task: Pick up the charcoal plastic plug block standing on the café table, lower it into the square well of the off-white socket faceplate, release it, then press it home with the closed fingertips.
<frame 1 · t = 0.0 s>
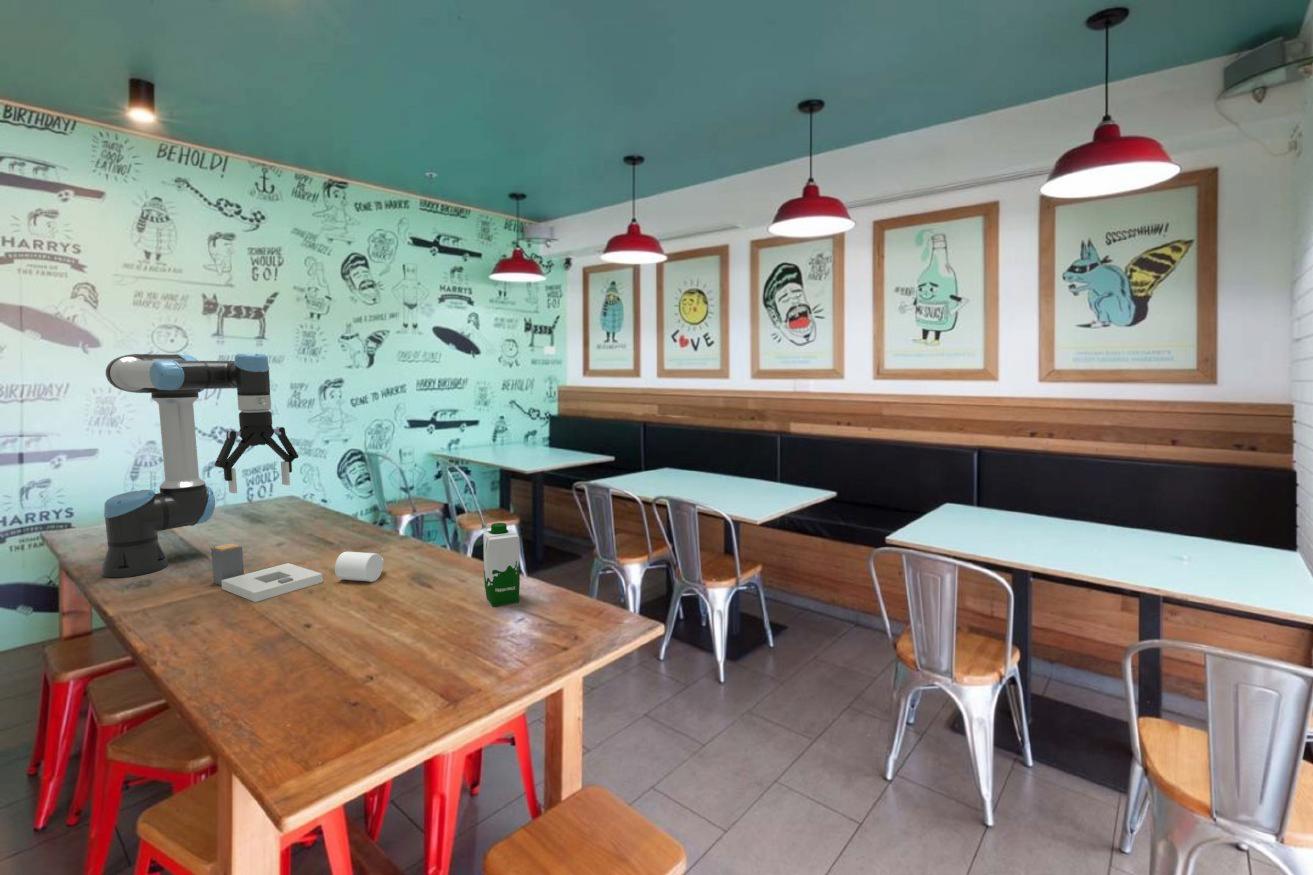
hand: (260, 488, 171), 28 cm above the table, fingers open, 13 cm apart
plug: (229, 581, 179), on the table
mug: (364, 578, 183), on the table
milk carton: (502, 601, 166), on the table
socket plate: (273, 585, 176), on the table
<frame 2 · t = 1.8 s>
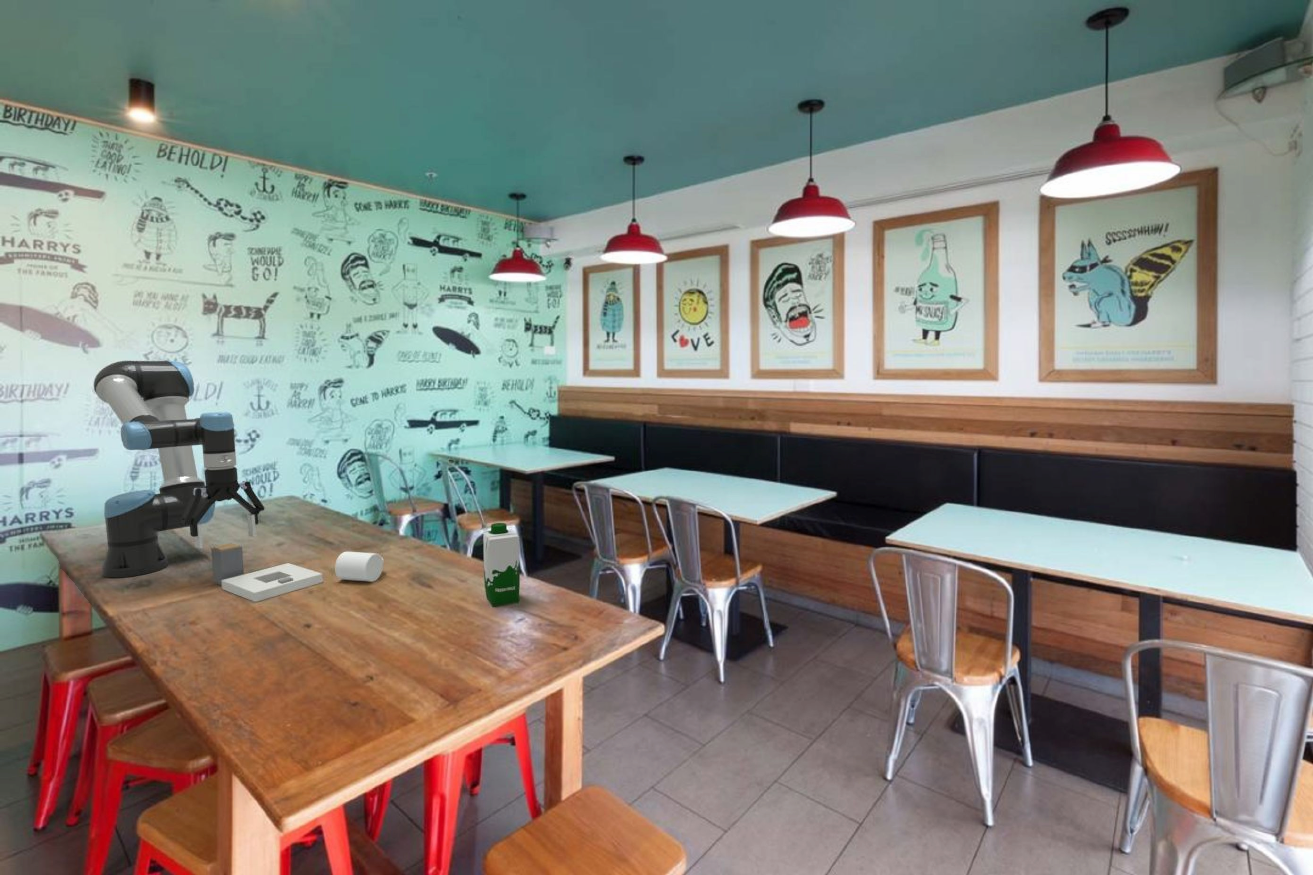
hand: (226, 541, 178), 12 cm above the table, fingers open, 13 cm apart
nothing on the table moved.
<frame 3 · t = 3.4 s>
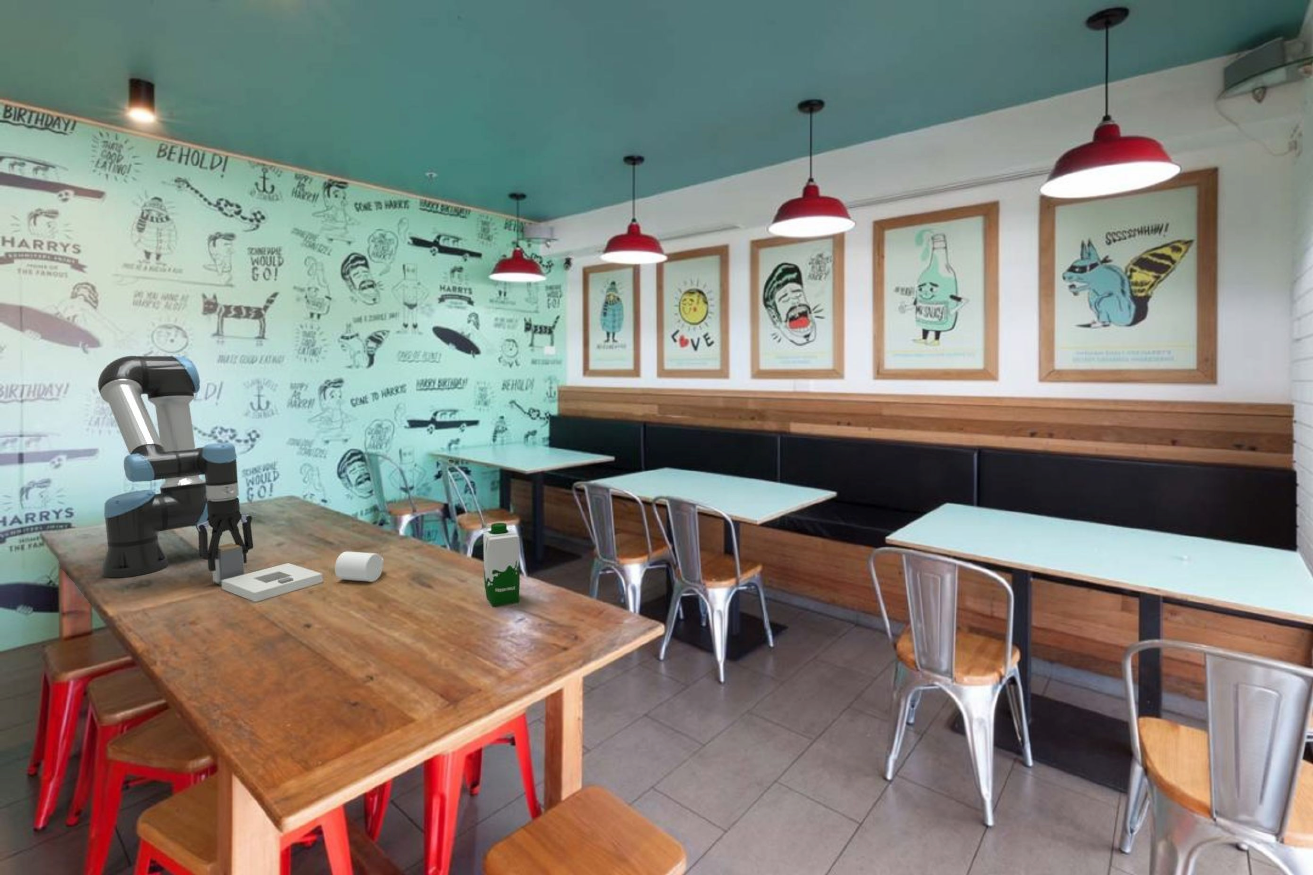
hand: (228, 577, 179), 1 cm above the table, fingers closed on plug, 5 cm apart
plug: (229, 581, 179), on the table, touching gripper
everything else where it was.
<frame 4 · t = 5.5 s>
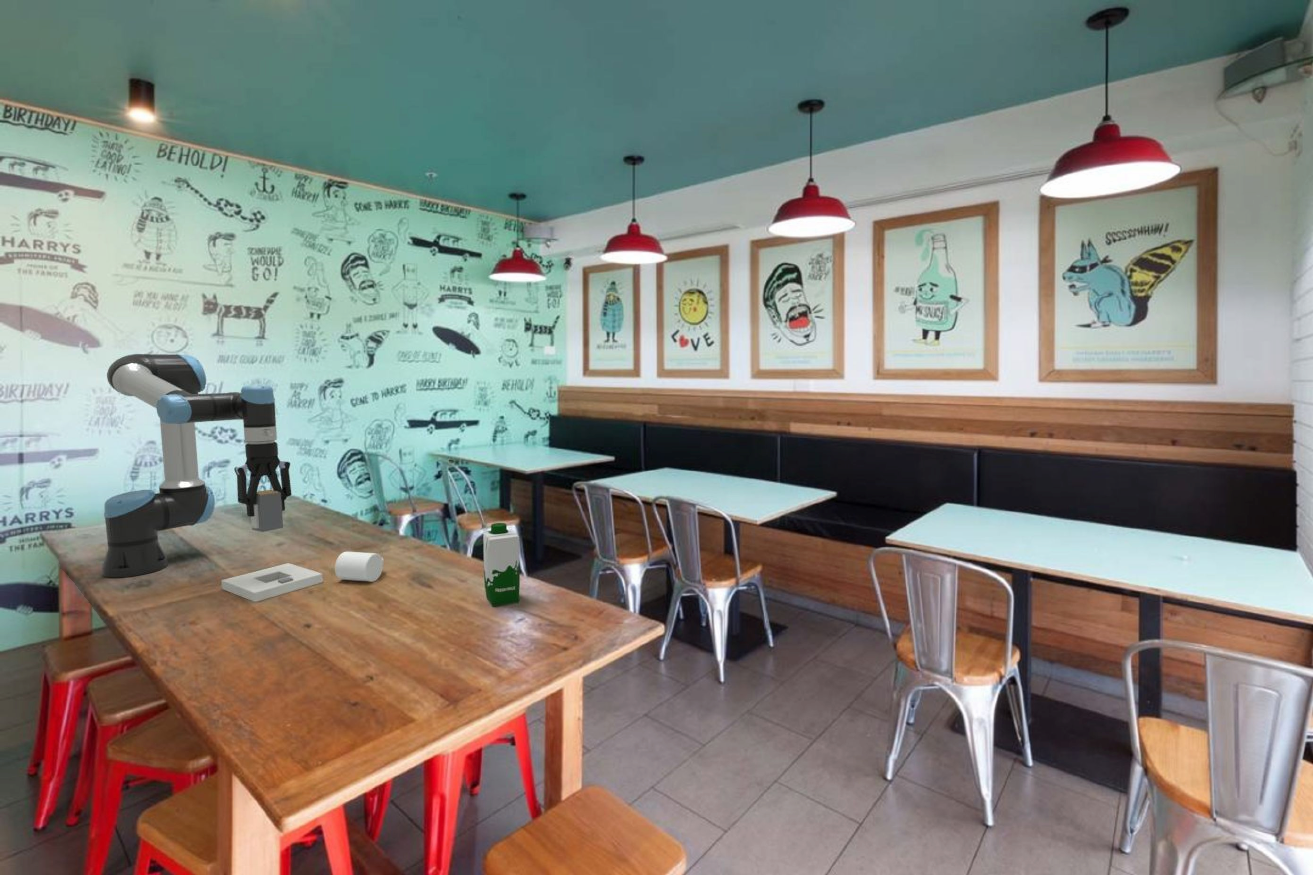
hand: (267, 524, 174), 17 cm above the table, fingers closed on plug, 5 cm apart
plug: (267, 528, 174), point 16 cm above the table, touching gripper
everything else where it was.
when the fingers open (3 cm above the table, at t = 7.7 s): plug drops 2 cm, resting on socket plate.
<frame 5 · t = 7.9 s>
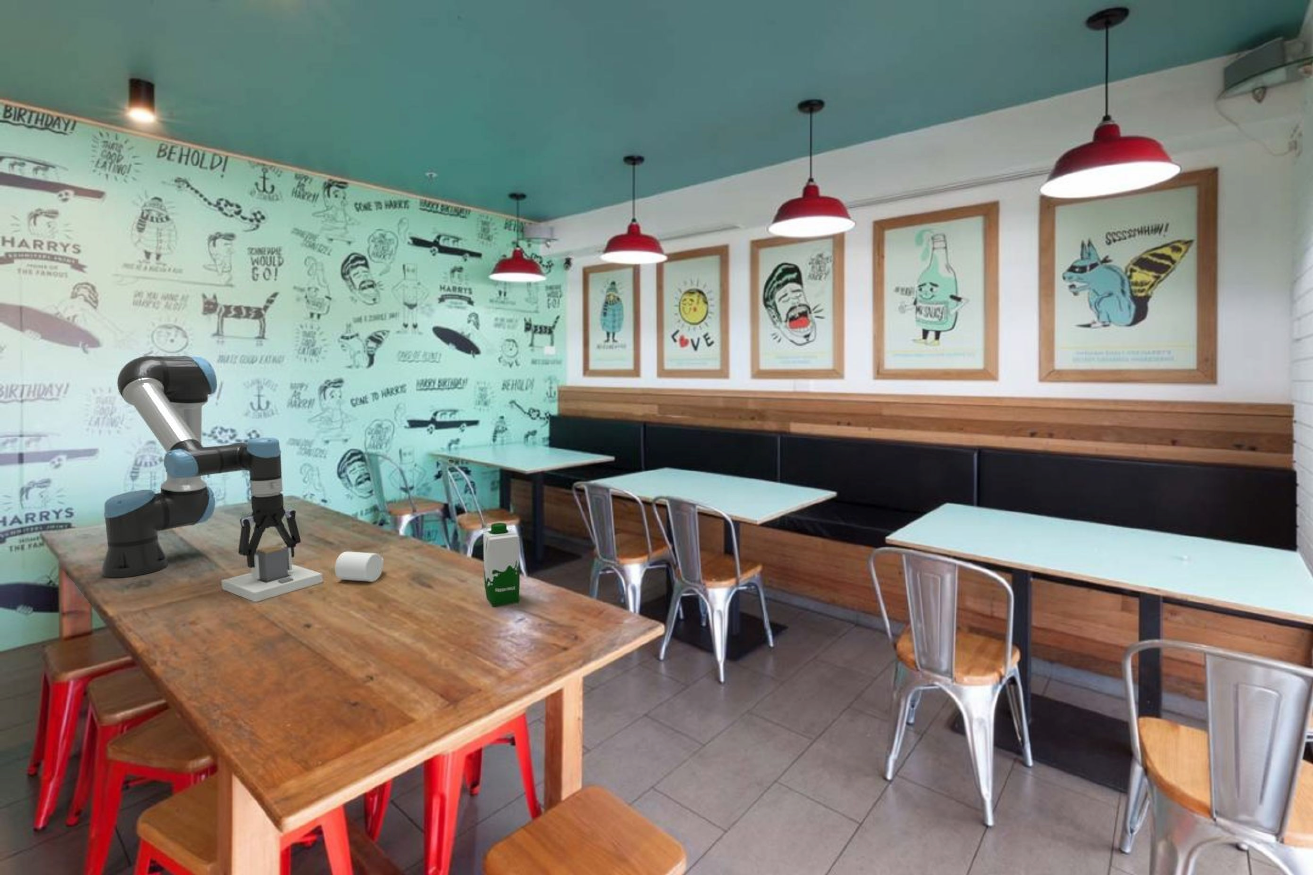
hand: (272, 573, 176), 3 cm above the table, fingers open, 8 cm apart
plug: (273, 584, 176), resting on socket plate
everything else where it was.
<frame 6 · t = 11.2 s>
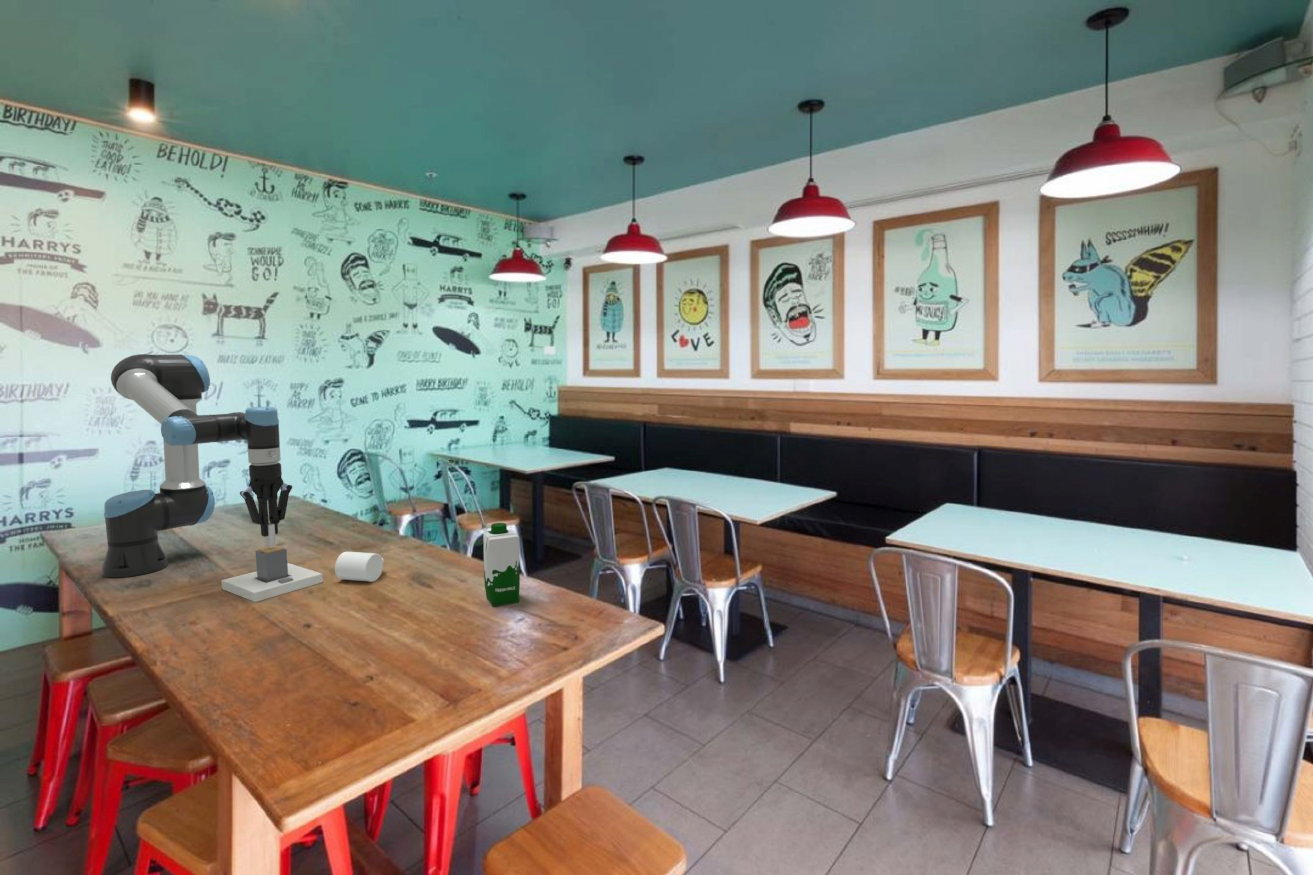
hand: (270, 546, 175), 11 cm above the table, fingers closed
nothing on the table moved.
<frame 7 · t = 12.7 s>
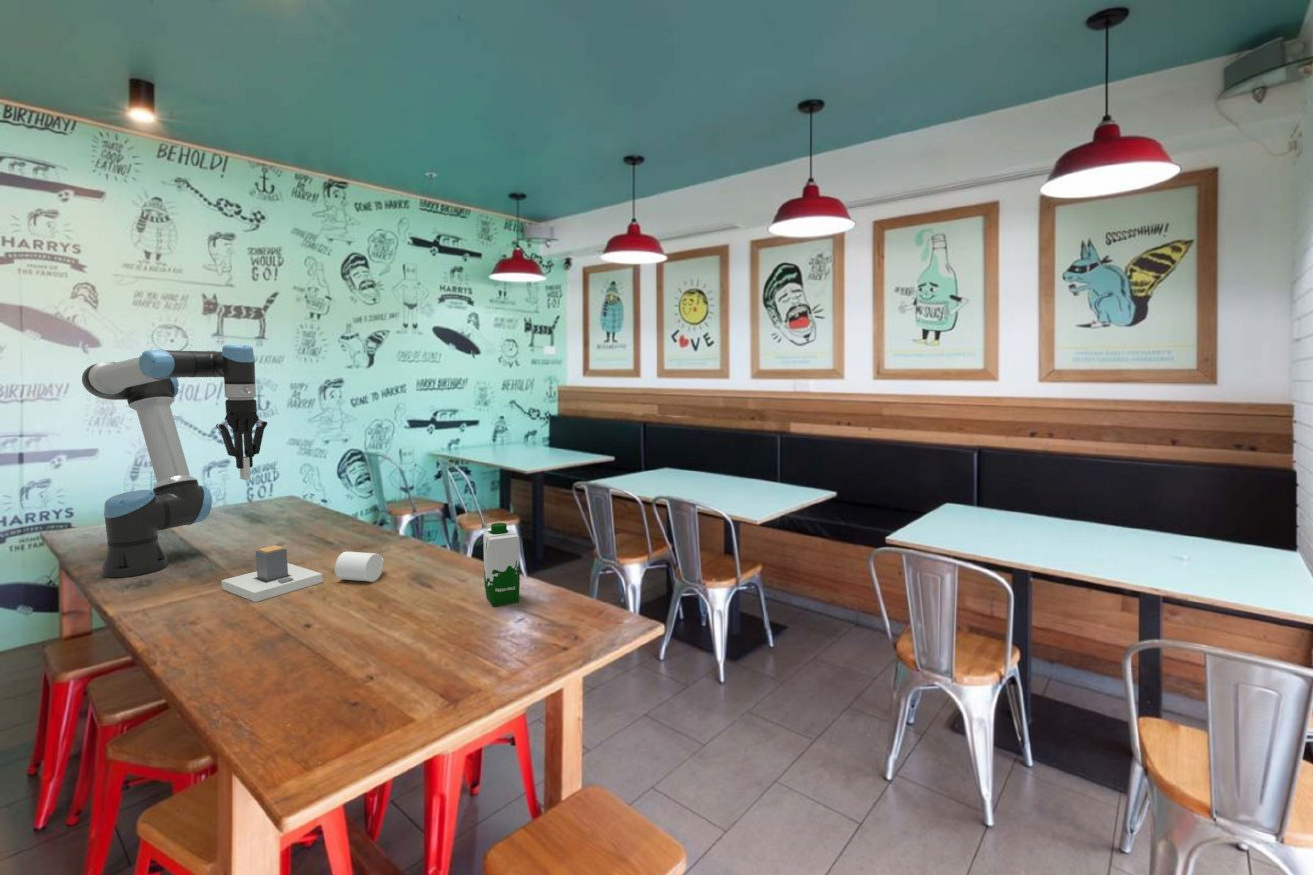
hand: (245, 479, 184), 28 cm above the table, fingers closed
nothing on the table moved.
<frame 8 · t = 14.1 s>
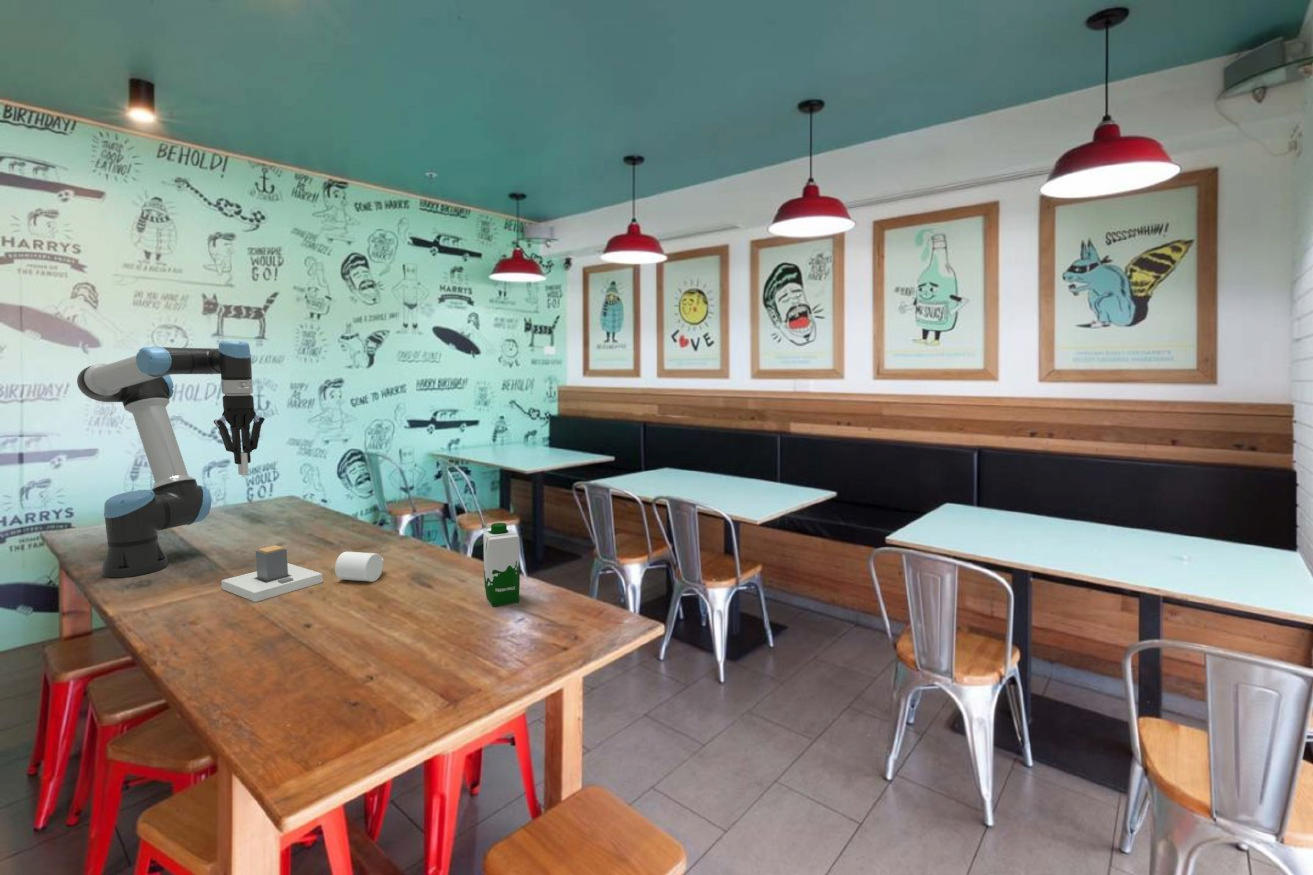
hand: (243, 474, 185), 29 cm above the table, fingers closed
nothing on the table moved.
at the end: plug 0.0 cm off-centre on the socket plate, point 0.3 cm above the socket plate's base; plug tilted 0°; the gripper is holding nothing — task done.
